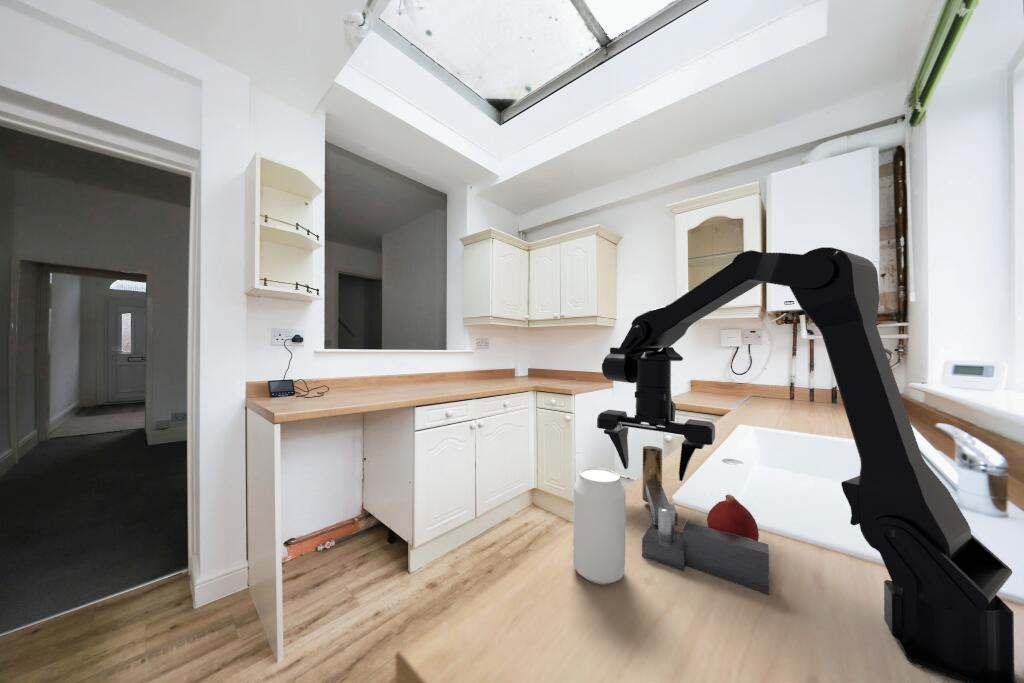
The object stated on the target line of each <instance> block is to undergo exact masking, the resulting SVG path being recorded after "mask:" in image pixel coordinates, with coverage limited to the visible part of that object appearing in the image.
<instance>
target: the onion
mask: <svg viewBox="0 0 1024 683" xmlns="http://www.w3.org/2000/svg"><path fill="white" fill-rule="evenodd" d="M706 522H707V527H708V528H712V529H715V530H719V531H722V532H728V533H732V534H735V535H739V536H742V537H746V538H750V539H753V540H755V541H758V542H759V538H760V534H759V528H758V525H757V522H756V519H755V517H754V516H753V515H752V513H751V512H750V511H749V509H747V508H746V507H745V506H744V505H743V504H742V503H740V502H739V500H737V499H736V497H735V496H734V495H732V494H726V495H725V499H724V500H722V501H719V502H717V503H715V505H714V506H713V507H711V508H710V510H709V512H708V514H707V518H706Z"/></svg>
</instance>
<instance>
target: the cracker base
mask: <svg viewBox="0 0 1024 683" xmlns="http://www.w3.org/2000/svg"><path fill="white" fill-rule="evenodd" d="M675 527H676V526H675V510H674V509H673V508H670V507H667V506H660V507H659V516H658V524H655V523H654V522H652V523H651V524H650V525H649V526H648V528H647V530H646V531H645V534H644V535H643V536H642V538H641V542H642V543H641V557H642V558H644V559H647V560H650V561H653V562H655V563H657V564H658V563H659V564H662V565H664V566H666V567H667V566H668V567H670V568H672V569H675V570H678V571H681V572H685V569H686V567H687V568H689V569H692V570H695V571H698V572H701V573H703V574H704V573H705V574H707V575H710V576H711V577H715V578H719V579H721V580H724V581H727V582H729V583H734V584H735V585H739V586H741V587H744V588H747V589H750V590H753V591H756V592H759V593H761V594H764V595H767V596H770V549H769V543H765V542H761V541H759V540H758V541H755V540H753V539H750V538H746V537H742V536H739V535H735V534H732V533H728V532H722V531H719V530H715V529H712V528H708V526H705V525H701V524H697V523H694V522H690V521H685V523H684V526H683V529H682V531H678V530H676V528H675Z"/></svg>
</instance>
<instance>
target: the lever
mask: <svg viewBox="0 0 1024 683" xmlns="http://www.w3.org/2000/svg"><path fill="white" fill-rule="evenodd" d="M641 490H642V495H641V496H642V500H643V501H644V502H645V503H648V506H649V508H650V513H651V516H652V519H653V524H656V525H658V516H659V507H660V506H667V507H670V508H673V509H674V510H675V527H678V511H677V509H676V507H675V504H674V503H670V502H669V500H668V497H667V495H666V493H665V490H664V488H663V448H661V447H658V446H653V445H652V446H651V445H646V446H642V489H641Z"/></svg>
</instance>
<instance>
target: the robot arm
mask: <svg viewBox="0 0 1024 683" xmlns="http://www.w3.org/2000/svg"><path fill="white" fill-rule="evenodd" d="M878 277H879V276H878V270H877V267H876V266H875V264H874V263H873V262H872V261H871V260H869V259H868V258H865V257H864V256H860V255H858V254H854V253H852V252H848V251H845V250H842V249H840V248H834V247H831V246H830V247H827V246H826V247H818V248H814V249H811V250H809V251H807V252H805V253H804V254H801V253H800V254H798V253H790V252H788V253H787V252H761V251H758V250H752V249H750V250H745V251H742V252H741V253H739V254H737V255H736V256H735V257H734V258H733V260H732V261H731V262H729V263H728V264H727V265H725V266H723V267H722V268H721V269H719V270H718V271H716V272H714V273H713V274H712V275H710V276H709V277H708V278H706V279H704V280H703V281H702V282H700V283H699V284H697V285H695V286H694V287H693V288H692V289H690V290H689V291H688V292H686V293H684V294H683V295H681V296H680V297H679V298H677V299H676V300H674V301H673V302H671V303H669V304H666V305H663V306H661V307H657V308H653V309H650V310H647V311H646V312H643V313H642V314H640V315H637V316H636V317H635V318H634V319H633V320H632V322H631V326H630V329H629V330H628V332H627V333H626V335H625V338H624V339H623V341H622V342H621V344H620V346H619V347H609V353H608V354H607V355H606V356H605V357H604V359H603V361H602V363H601V372H602V374H603V376H604V377H605V379H607V380H608V381H613V382H621V383H628V384H629V383H630V384H635V391H634V398H635V414H634V416H628V413H627V411H623V410H615V409H607V410H604V411H601V412H600V413H599V414H598V416H597V420H596V422H597V423H596V428H597V429H601V430H603V433H604V434H605V435H608V437H609V438H610V440H611V442H612V444H613V445H614V448H615V449H616V451H617V454H618V457H619V458H620V461H621V464H622V466H623V468H624V470H627V469H628V468H629V462H630V461H629V459H630V458H629V444H628V434H629V428H634V429H641V430H648V431H654V432H655V431H656V432H660V433H668V434H675V435H683V437H684V438H685V439H684V440H683V441H682V443H681V450H680V457H679V458H680V460H679V466H678V467H679V468H678V478H679V482H682V481H683V480H684V477H685V476H686V472H687V469H688V467H689V464H690V461H691V459H692V456H693V454H694V453H695V451H696V450H703V449H704V447H705V445H706V446H712V445H713V444H714V442H715V440H716V426H715V424H714V423H713V422H712V421H709V420H708V421H707V420H701V419H692V418H691V419H690V418H689V419H687V420H686V422H685V423H681V422H675V421H676V409H677V408H676V404H675V403H674V401H673V400H672V387H671V386H672V380H671V379H672V377H671V376H672V373H671V372H672V371H671V370H672V362H682V361H683V360H684V358H683V356H681V354H679V353H678V352H677V351H676V350H675V348H674V347H673V345H675V344H676V343H677V342H678V341H679V340H680V339H681V338H683V337H684V336H685V335H686V333H687V331H688V329H689V328H690V327H691V326H693V324H694V323H696V322H698V321H700V320H701V319H703V318H705V317H706V316H708V315H710V314H712V313H714V312H715V311H717V310H718V309H720V308H722V307H723V306H725V305H727V304H729V303H730V302H731V301H733V300H735V299H737V298H739V297H740V296H742V295H743V294H745V293H746V292H747V293H748V291H751V290H752V289H754V288H755V287H757V286H760V285H761V284H763V283H764V284H765V283H766V284H772V285H778V286H785V287H789V289H790V291H791V293H792V295H793V296H794V298H795V299H796V301H797V303H798V305H799V307H800V309H801V311H802V312H804V314H805V315H806V316H807V317H808V318H809V320H810V321H811V322H812V323H813V324H814V325H815V326H816V328H817V329H818V330H819V332H820V334H821V336H822V340H823V342H824V346H825V349H826V352H827V355H828V359H829V362H830V366H831V369H832V372H833V375H834V379H835V381H836V385H837V388H838V391H839V396H840V397H841V401H842V403H843V407H844V410H845V415H846V417H847V420H848V423H849V427H850V430H851V433H852V436H853V440H854V443H855V447H856V450H857V453H858V456H859V460H860V468H859V475H857V476H854V477H853V478H849V479H846V480H844V481H841V488H842V492H843V494H844V496H845V498H846V500H847V502H848V504H849V507H850V514H851V517H850V522H849V523H850V525H852V526H857V525H859V528H860V532H861V534H862V536H863V538H864V539H865V541H866V543H867V544H868V545H869V546H870V547H871V548H872V549H874V550H875V551H877V553H879V554H880V557H881V559H882V561H883V563H884V566H885V568H886V570H887V573H888V574H889V575H888V576H889V577H890V580H888V579H885V580H884V581H883V595H884V596H883V605H884V607H883V609H884V610H883V614H884V615H883V620H884V621H885V623H886V626H887V628H888V630H889V632H890V634H891V636H892V637H893V638H894V639H895V640H897V643H898V644H899V646H900V648H901V650H902V653H903V655H904V656H905V658H906V659H907V660H909V661H910V662H911V663H914V664H916V665H919V666H921V667H924V668H927V669H928V670H933V671H935V672H938V673H941V674H944V675H946V676H948V677H951V678H955V679H956V680H959V681H962V682H965V683H1018V682H1017V681H1016V679H1015V630H1014V629H1015V621H1014V611H1013V610H1012V609H1011V607H1009V606H1008V605H1007V604H1006V603H1005V602H1004V600H1002V599H1001V598H1000V597H999V596H998V595H997V594H998V593H999V592H1000V590H1001V589H1002V588H1003V586H1004V585H1005V584H1006V583H1007V581H1008V580H1009V578H1010V577H1011V576H1012V574H1013V570H1012V569H1011V568H1010V567H1009V566H1008V565H1007V564H1006V563H1005V562H1003V561H1002V559H1000V558H999V557H998V556H997V555H996V554H994V552H992V550H990V549H989V548H988V547H987V546H985V545H984V543H982V542H981V541H980V540H979V539H978V538H976V536H974V535H973V534H972V529H971V527H970V524H969V522H968V521H967V518H966V517H965V516H964V514H963V512H962V510H961V509H960V507H959V506H958V504H957V502H956V500H955V499H954V497H953V495H952V494H951V492H950V491H949V489H948V488H947V487H946V485H944V483H943V482H942V481H941V480H940V479H939V477H938V476H937V475H936V473H934V471H933V469H931V467H930V466H929V465H928V464H927V463H926V461H925V460H924V458H923V455H922V452H921V450H920V447H919V444H918V442H917V438H916V435H915V433H914V429H913V427H912V424H911V422H910V419H909V415H908V412H907V409H906V407H905V404H904V401H903V398H902V395H901V392H900V390H899V387H898V384H897V380H896V378H895V375H894V372H893V370H892V366H891V364H890V360H889V357H888V355H887V351H886V349H885V347H884V342H883V341H882V338H881V335H880V332H879V329H878V324H877V320H878V313H879V307H880V288H879V286H880V285H879V278H878ZM646 423H647V424H646Z"/></svg>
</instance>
